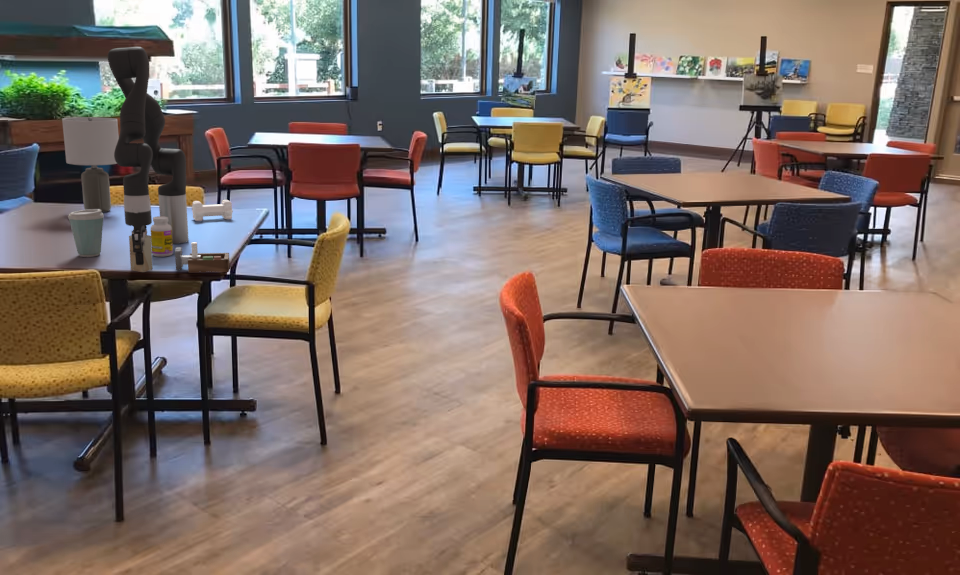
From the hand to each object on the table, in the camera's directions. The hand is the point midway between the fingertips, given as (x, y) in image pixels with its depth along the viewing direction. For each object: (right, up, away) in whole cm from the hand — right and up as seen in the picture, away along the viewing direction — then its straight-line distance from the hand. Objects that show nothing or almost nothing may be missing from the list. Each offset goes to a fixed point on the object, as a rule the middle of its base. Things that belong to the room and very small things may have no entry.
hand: (141, 261), depth 249 cm
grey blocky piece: (+13, -2, +4) cm, 14 cm away
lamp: (-55, +24, +88) cm, 106 cm away
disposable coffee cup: (-24, +3, +16) cm, 29 cm away
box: (0, -3, +1) cm, 3 cm away
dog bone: (-5, +20, +81) cm, 84 cm away
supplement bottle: (-1, +3, +20) cm, 21 cm away
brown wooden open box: (+19, -2, +6) cm, 20 cm away
